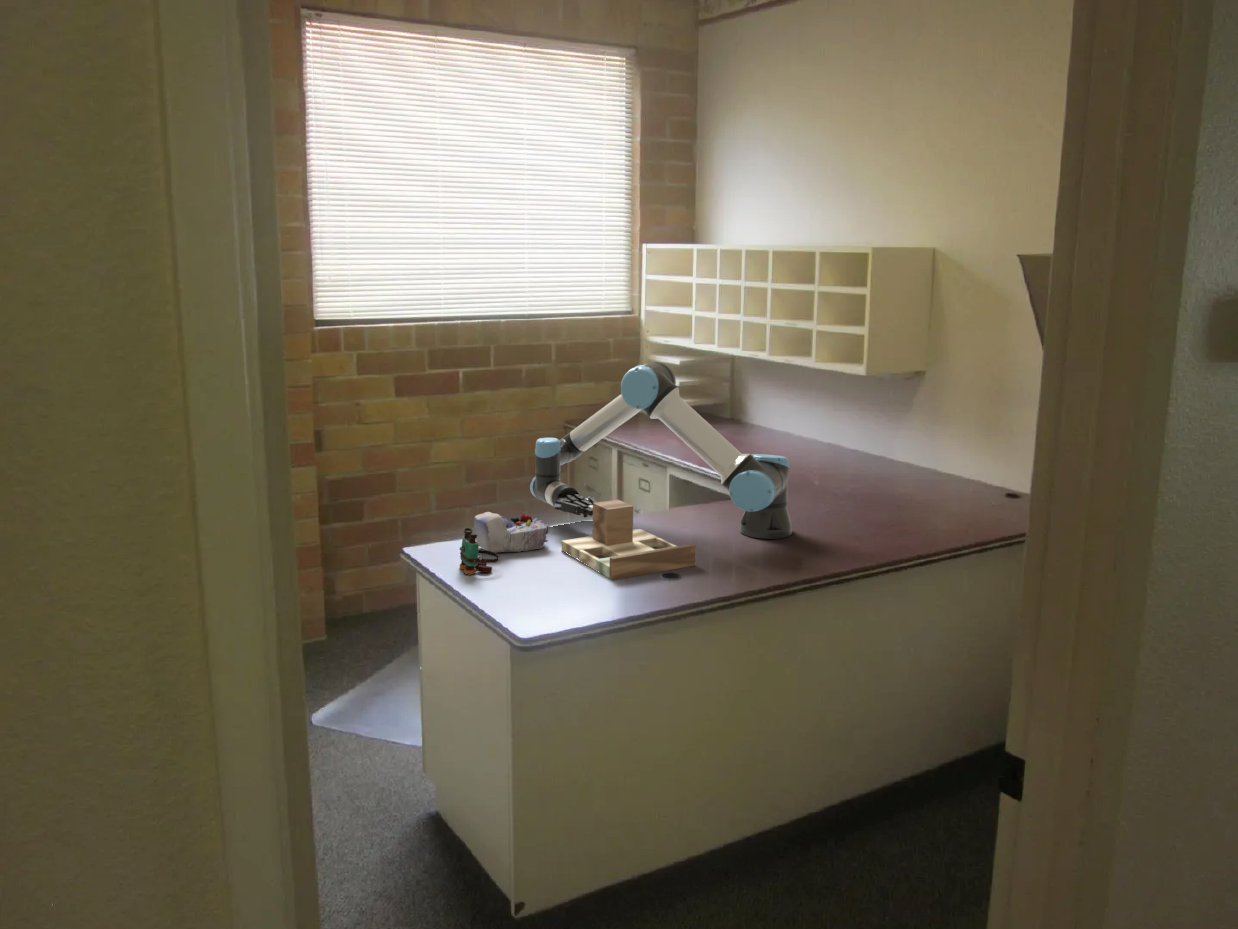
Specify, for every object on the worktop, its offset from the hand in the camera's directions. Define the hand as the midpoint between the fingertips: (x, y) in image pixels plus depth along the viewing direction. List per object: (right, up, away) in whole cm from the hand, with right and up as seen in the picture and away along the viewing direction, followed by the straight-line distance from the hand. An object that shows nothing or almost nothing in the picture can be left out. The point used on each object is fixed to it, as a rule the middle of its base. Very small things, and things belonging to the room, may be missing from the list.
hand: (601, 515), depth 275 cm
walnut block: (+3, -7, -2) cm, 8 cm away
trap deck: (+7, -11, -8) cm, 15 cm away
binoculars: (-31, -13, -19) cm, 39 cm away
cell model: (-25, -9, 0) cm, 26 cm away
